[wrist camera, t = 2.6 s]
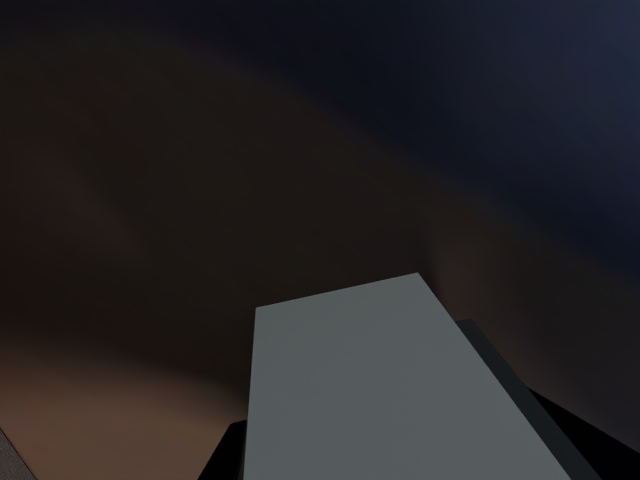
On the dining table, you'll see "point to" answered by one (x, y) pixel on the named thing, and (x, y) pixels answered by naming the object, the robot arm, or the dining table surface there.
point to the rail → (12, 463)
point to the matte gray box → (392, 395)
